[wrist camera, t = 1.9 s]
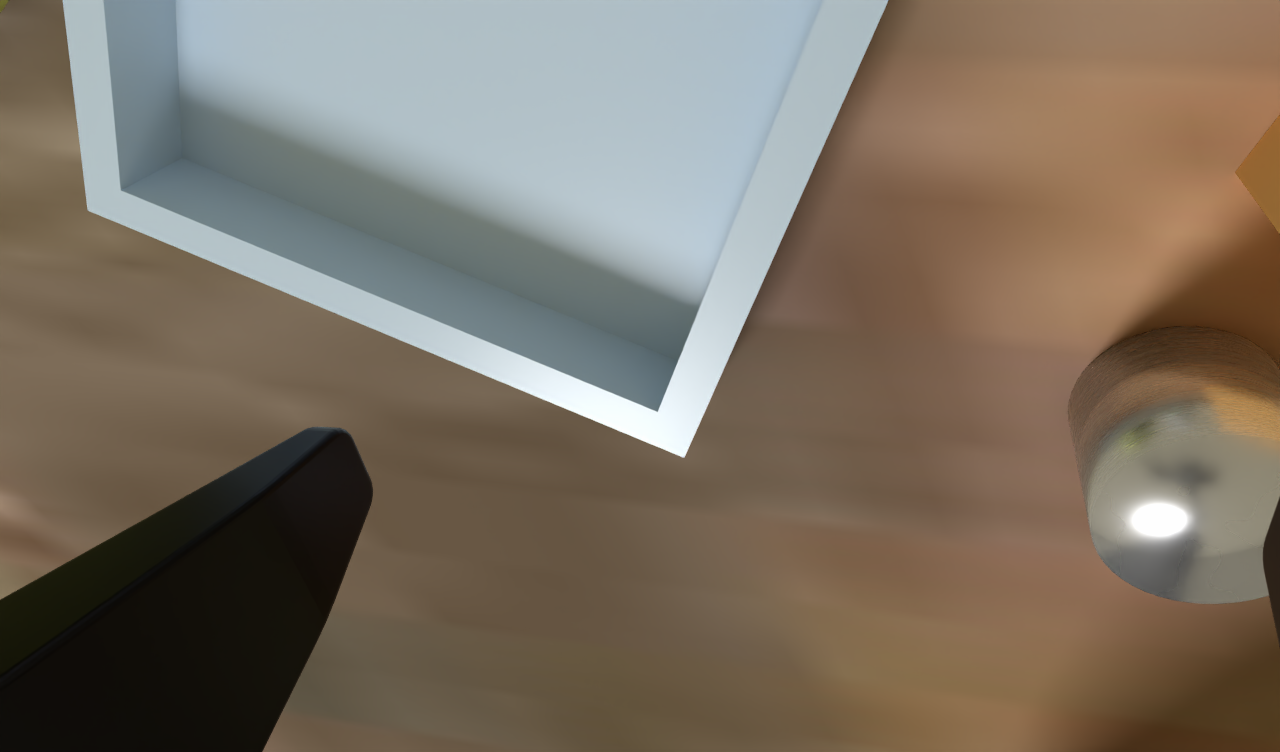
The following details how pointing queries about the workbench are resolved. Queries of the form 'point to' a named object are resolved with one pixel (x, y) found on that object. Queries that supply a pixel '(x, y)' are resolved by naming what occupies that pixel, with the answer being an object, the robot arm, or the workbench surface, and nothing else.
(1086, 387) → the grey metal puck
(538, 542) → the workbench surface
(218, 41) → the parts tray
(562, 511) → the workbench surface
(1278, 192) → the orange block
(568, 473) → the workbench surface
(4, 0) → the lungs
